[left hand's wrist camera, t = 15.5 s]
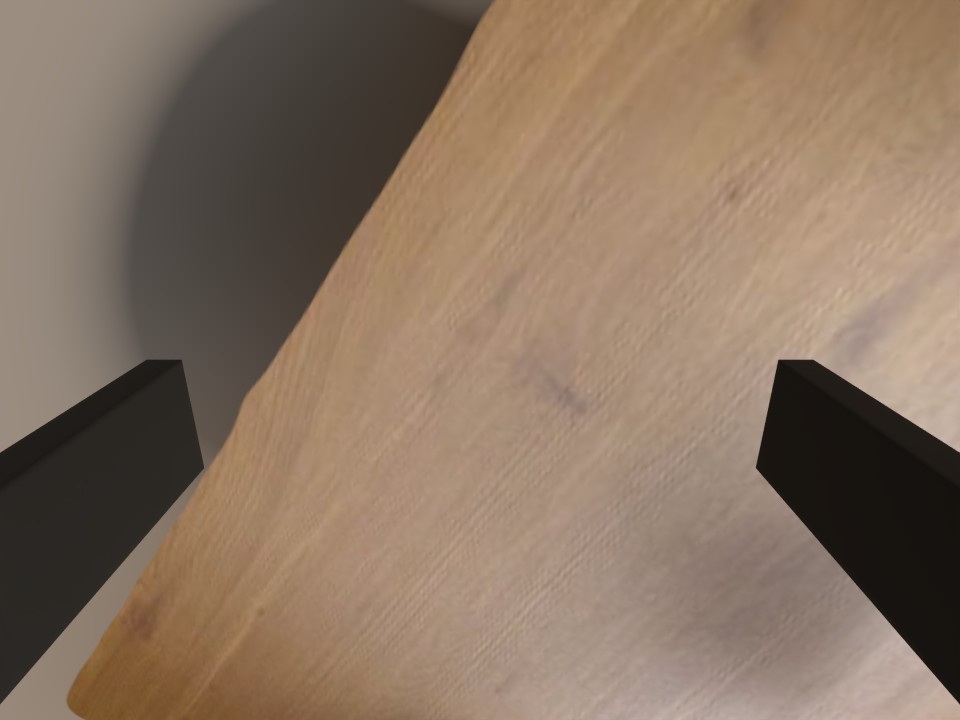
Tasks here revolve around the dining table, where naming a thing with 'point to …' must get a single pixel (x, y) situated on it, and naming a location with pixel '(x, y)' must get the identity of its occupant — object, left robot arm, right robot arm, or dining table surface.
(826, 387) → the left robot arm
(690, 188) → the dining table surface
